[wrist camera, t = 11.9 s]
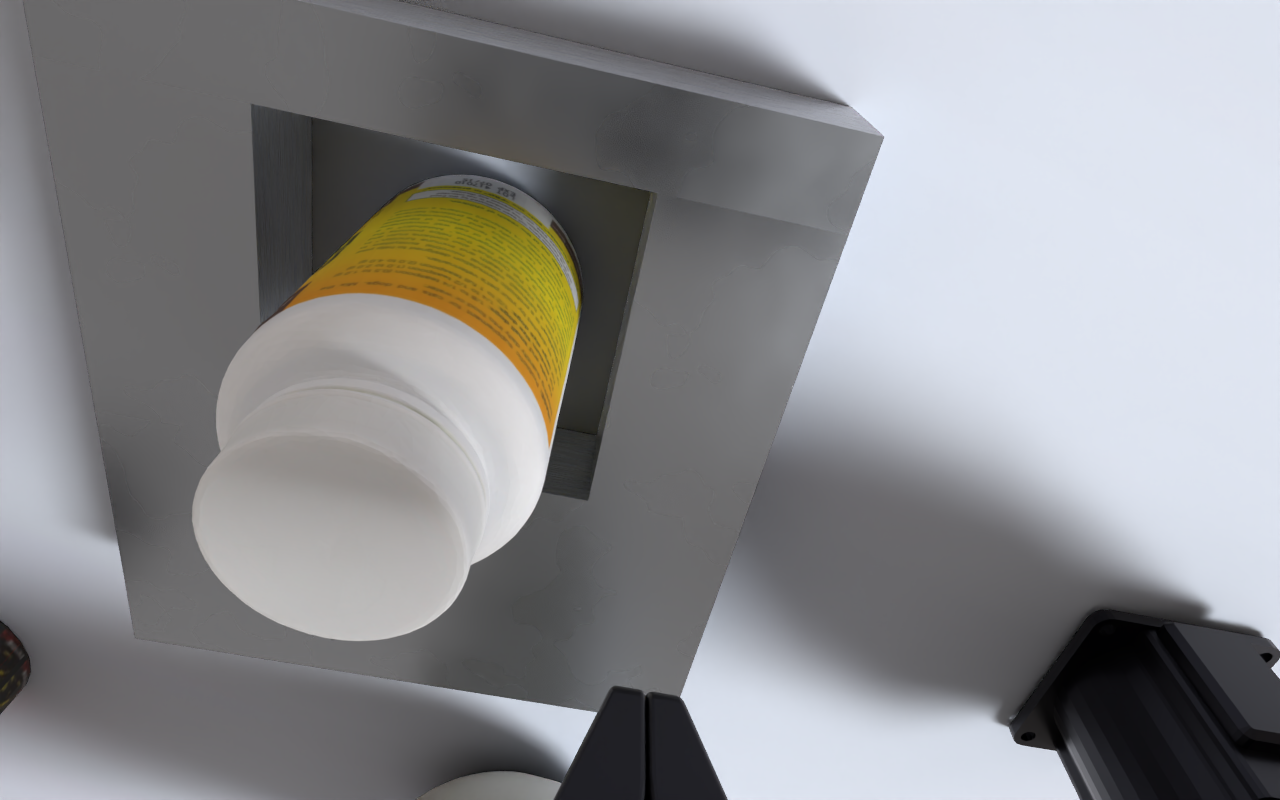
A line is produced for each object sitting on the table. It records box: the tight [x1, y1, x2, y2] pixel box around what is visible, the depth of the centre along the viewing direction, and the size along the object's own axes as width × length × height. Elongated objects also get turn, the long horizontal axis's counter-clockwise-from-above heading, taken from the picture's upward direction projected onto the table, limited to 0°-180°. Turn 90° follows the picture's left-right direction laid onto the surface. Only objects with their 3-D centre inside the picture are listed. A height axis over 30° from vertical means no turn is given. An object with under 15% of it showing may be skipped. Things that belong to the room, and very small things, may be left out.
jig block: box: [23, 0, 884, 712], centre depth 20 cm, size 18×16×3 cm
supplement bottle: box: [192, 175, 583, 641], centre depth 15 cm, size 6×6×10 cm
